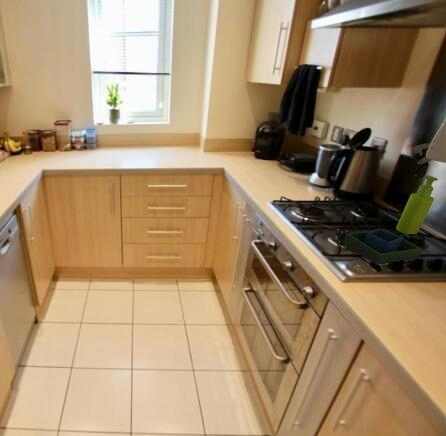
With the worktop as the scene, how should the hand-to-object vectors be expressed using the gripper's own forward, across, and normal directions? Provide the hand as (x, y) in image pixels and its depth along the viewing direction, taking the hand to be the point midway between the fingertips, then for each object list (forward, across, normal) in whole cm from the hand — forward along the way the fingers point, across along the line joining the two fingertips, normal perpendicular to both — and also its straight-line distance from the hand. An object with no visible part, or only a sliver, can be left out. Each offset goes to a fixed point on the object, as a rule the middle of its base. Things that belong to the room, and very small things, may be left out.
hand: (440, 183), depth 86 cm
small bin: (+24, +6, +6) cm, 25 cm away
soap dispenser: (+25, +10, -18) cm, 32 cm away
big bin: (+24, +5, +6) cm, 26 cm away
